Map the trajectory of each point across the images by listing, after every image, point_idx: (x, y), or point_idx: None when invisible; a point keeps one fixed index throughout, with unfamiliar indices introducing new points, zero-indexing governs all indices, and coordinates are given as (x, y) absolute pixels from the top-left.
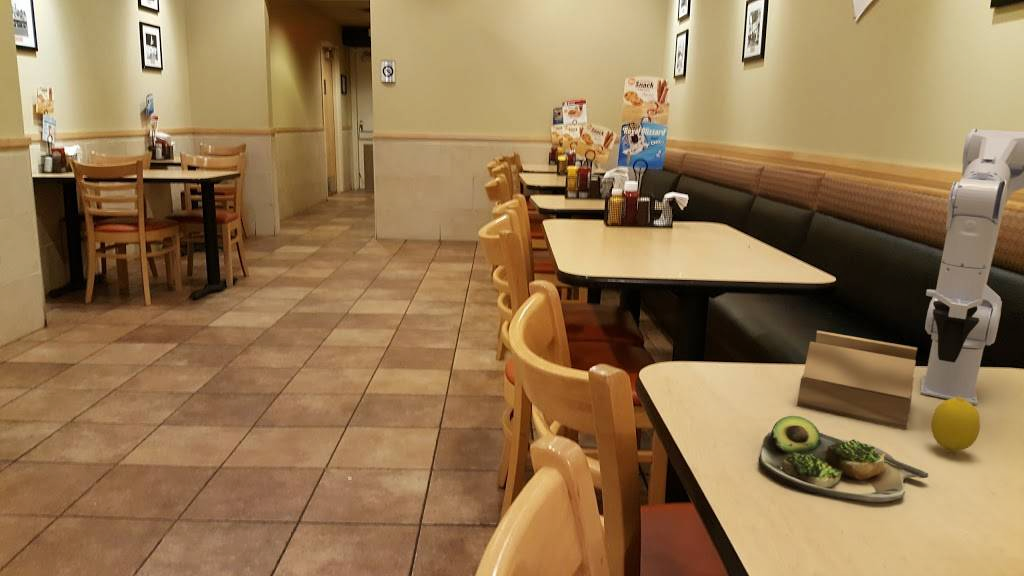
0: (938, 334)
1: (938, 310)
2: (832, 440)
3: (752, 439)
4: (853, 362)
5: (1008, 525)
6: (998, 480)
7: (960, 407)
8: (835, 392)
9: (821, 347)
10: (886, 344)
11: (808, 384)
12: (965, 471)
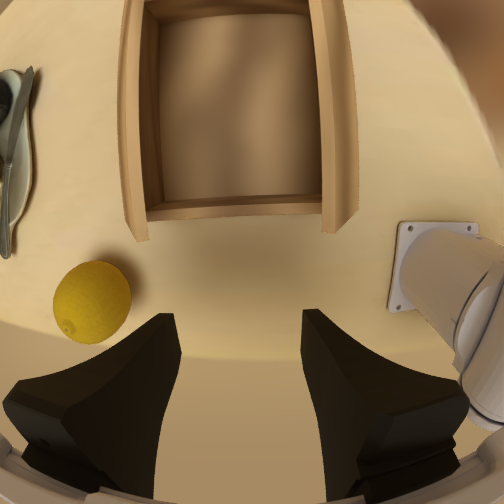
0: (94, 358)
1: (58, 435)
2: (9, 137)
3: (12, 58)
4: (122, 62)
5: (10, 319)
6: None
7: (56, 321)
8: None
9: None
10: (322, 119)
11: None
12: None
